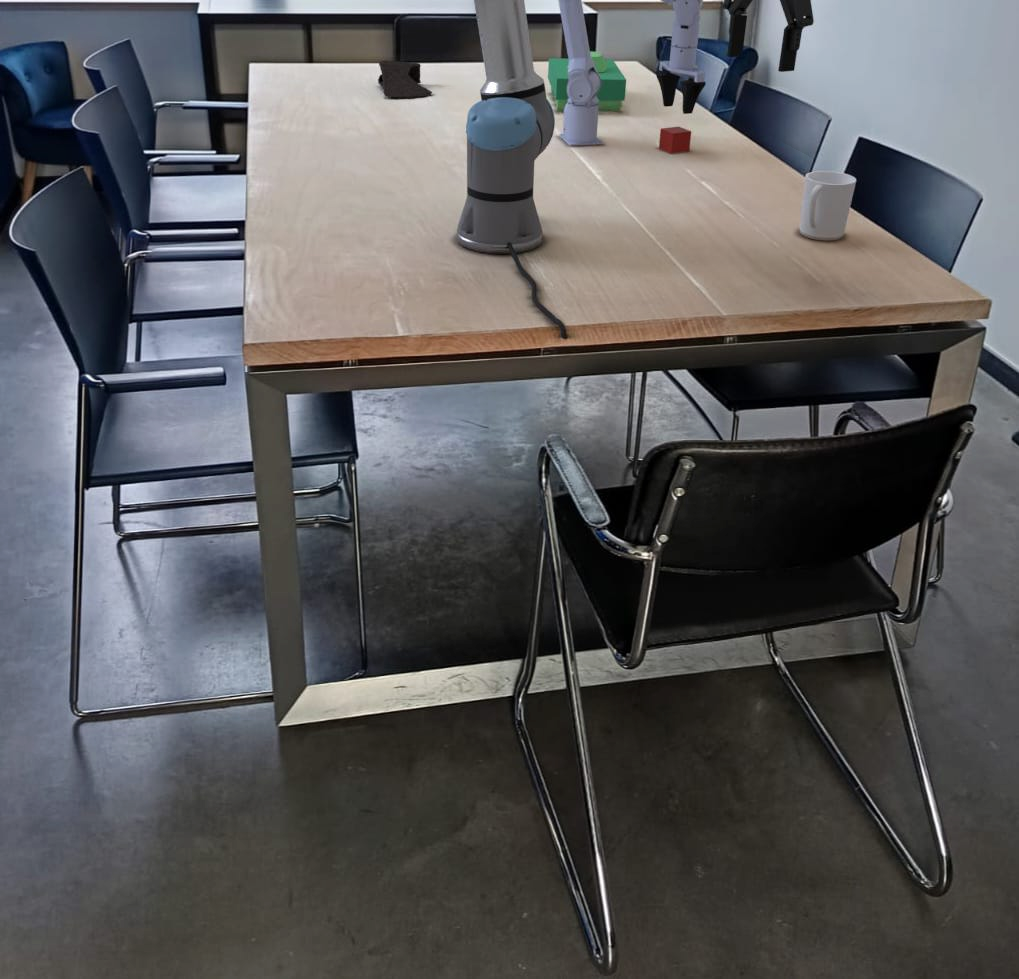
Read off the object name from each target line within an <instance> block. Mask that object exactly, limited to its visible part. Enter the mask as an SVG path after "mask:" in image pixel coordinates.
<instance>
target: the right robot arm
mask: <svg viewBox="0 0 1019 979" xmlns="http://www.w3.org/2000/svg"><path fill="white" fill-rule="evenodd" d="M660 1H661V3H662V2H663V4H665V5H667V6H669V7H670V6H671V7H672V8H673V11H674V20H673V23H672V24H673V25H672V32H671V33H672V34H671V43H670V44H671V45H670V51H669V52H670V54H669V60H660V61H659V67H658V70H659V71H661V72H659V73H658V72H657V73H656V76H655V77H656V79H657V81H658V84H659V87H660V91H661V96H662V97H661V98H662V104H663V107H665V108H666V107H667V108H668V107H673V106H674V102H675V97H676V92H677V87H678V84H680V87H681V91H682V92H681V94H682V114H684V115H688V114H689V115H690V114H693V111H694V109H695V106H696V103H697V100H698V98H699V96H700V94H701V93H702V91H703V89H705V87H706V84H707V83H706V81H705V76H706V73H705V72H704V71H702V70H700V69H699V66H698V65H696V62H697V61H696V59H697V53H698V52H697V51H698V44H699V43H698V42H699V35H700V34H699V33H700V20H701V12H700V9H701V8H702V6H703V3H704V0H660ZM558 7H559V12H560V18H561V23H562V28H563V29H562V30H563V35H564V36H563V37H564V42H565V46H566V52H567V59H569V66H568V77H569V81H568V85H567V94H568V97H569V99H568V102H567V104H566V105H565V108H564V111H563V122H562V123H563V124H562V125H563V126H562V133H559V134H558V137H560V139H562V140H563V141H564V142H565V143H566V144H567V145H569V146H572V147H574V146H594V145H603V142H602V141H601V139H599V138H598V127H599V126H598V123H599V111H598V109H599V100H598V98H597V95H596V94H597V93H598V91H599V90H600V88H601V78H600V75H599V74H598V72H597V71H596V69H595V65H594V61H593V59H592V57H591V55H590V51H591V49H590V45H589V44H590V43H589V39H588V38H589V37H588V32H587V25H586V20H585V14H584V8H583V0H558ZM681 78H684V79H685V78H686V79H687V80H686V79H685V80H680V79H681Z"/></svg>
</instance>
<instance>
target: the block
mask: <svg viewBox="0 0 1019 979" xmlns="http://www.w3.org/2000/svg"><path fill="white" fill-rule="evenodd" d="M691 138H692V131H691V130H689V129H687V128H685V127H681V126H671V127H670V126H669V127H662V128H660V133H659V141H658V143H659V144H658V149H660V150H662V151H664V152H667V153H669V154H677V153H678V154H679V153H687V152H690V149H691V148H690V147H691V140H692V139H691Z"/></svg>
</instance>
